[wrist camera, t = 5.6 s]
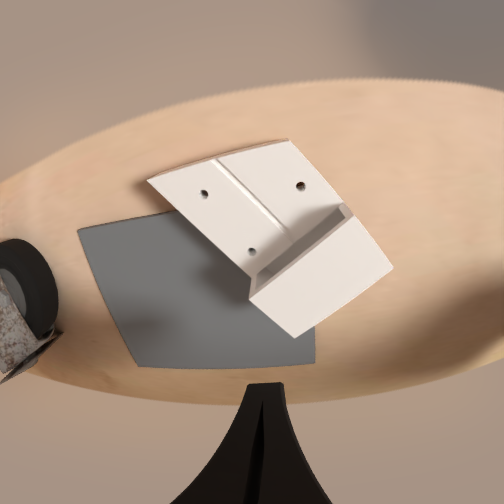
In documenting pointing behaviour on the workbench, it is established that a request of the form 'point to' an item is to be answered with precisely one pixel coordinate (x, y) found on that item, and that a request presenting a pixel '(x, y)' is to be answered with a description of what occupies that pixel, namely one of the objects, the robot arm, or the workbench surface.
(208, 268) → the rubber mat
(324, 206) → the white angled block
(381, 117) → the workbench surface
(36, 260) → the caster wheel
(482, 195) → the workbench surface
